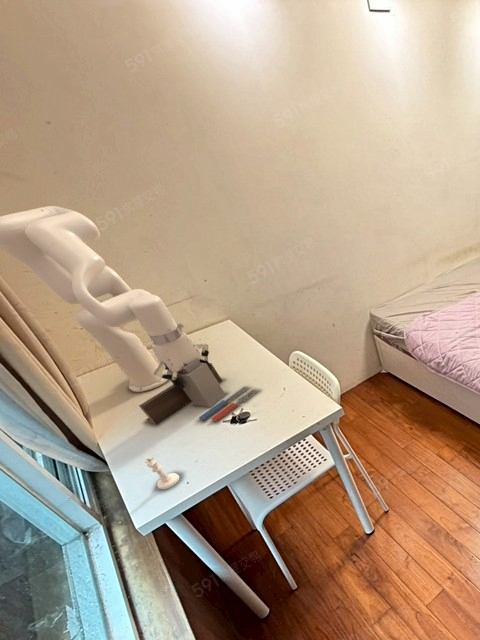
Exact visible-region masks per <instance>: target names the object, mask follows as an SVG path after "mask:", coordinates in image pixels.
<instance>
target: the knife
mask: <svg viewBox="0 0 480 640" xmlns="http://www.w3.org/2000/svg"><path fill="white" fill-rule="evenodd" d="M248 390H249V388H248V387H243V388H241V389H239V390H238V391H236V392H235V393H234V394H233V395H231V396H230V397H229V398H227V399H226V400H221V401H220V402H218V403H217V404H216V405H213V406H212V407H210V409H209V410H207V411H206V412H205V413H203V414H202V415H200V416H198V418H199V420H200V421H203V422H206V421H207V420H208V419H211V418H212V416H213V417H214V416H215V415H216V414H218V413H219V412H220V411H222V410H223V409H225V408H226V407H227V406H229V405H230V404H231V403H232V402H233V401H234V400H235V399H237V398H238V397H239V396H241V395H243V394H244V393H245V392H246V391H248Z"/></svg>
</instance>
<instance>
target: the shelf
mask: <svg viewBox="0 0 480 640" xmlns="http://www.w3.org/2000/svg"><path fill="white" fill-rule="evenodd" d="M209 364H210V365H211V369H212V370H211V372H212V373H213V375H214V377H215V378H216V380H217V381H218V383H219V384H220V383H221V382H223V380H222V377H221V376H220V375H219V373H218V371H217V370H216V368H215V367H214V365H213V364H212V362H209ZM191 403H193V402H192V401H191V400H190V398H189V397H188V395H187V394H186V393H185V391H184V390H183V388H180V387H175V386H174V384H173V383H172V384H171V385H170V386H168V387H167V388H165V389H163V390H162V391H160V392H159V393H157V394H156V395H154V396H152V397H150V398H148V399H147V400H146V401H144V402H143V403H141V404H139V405H138V407H139V408H140V409H141V411H142V412H143V413H144V414H145V415H146V416H147V418H146V419H145V421H146V422H148V423H150V424H153V425H156V426H157V425H159V424H161V423H162V422H163V421H165V420H167V419H168V418H169V417H171V416H172V415H174V414H175V413H177V412H178V411H180V410H181V409H183V408H184V407H186V406H187V405H189V404H191Z"/></svg>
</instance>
